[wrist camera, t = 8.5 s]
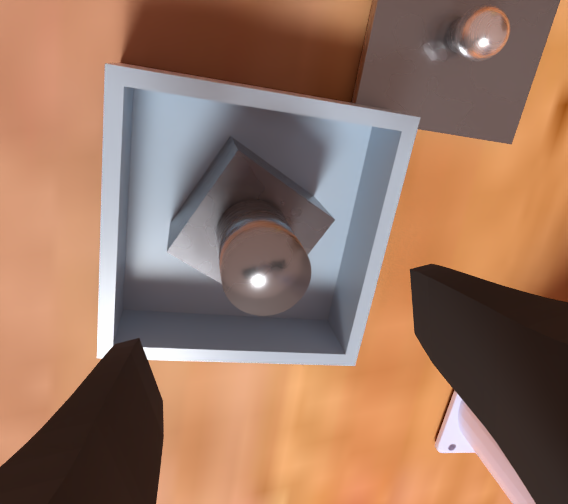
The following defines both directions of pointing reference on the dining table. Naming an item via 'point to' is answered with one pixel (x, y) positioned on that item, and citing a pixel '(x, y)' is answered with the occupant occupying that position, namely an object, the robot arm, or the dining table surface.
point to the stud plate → (454, 62)
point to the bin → (184, 177)
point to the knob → (249, 231)
